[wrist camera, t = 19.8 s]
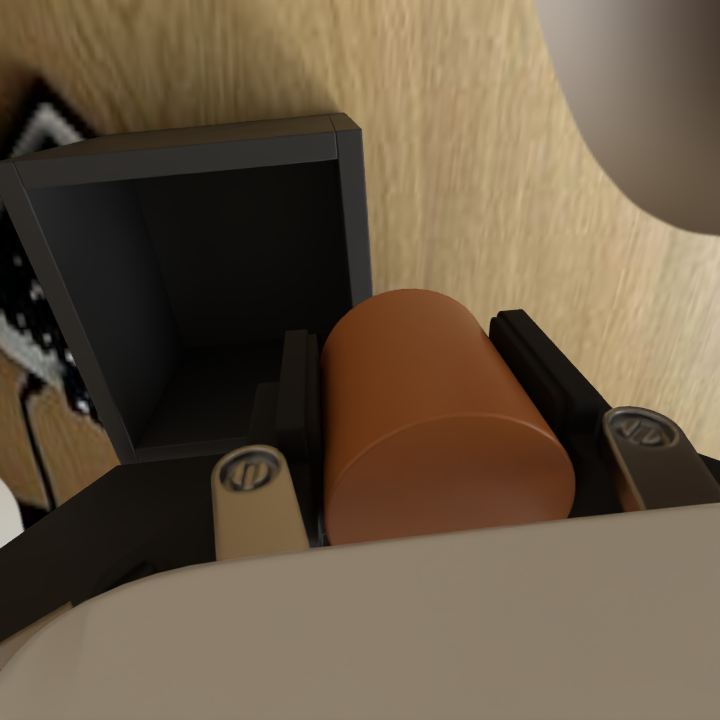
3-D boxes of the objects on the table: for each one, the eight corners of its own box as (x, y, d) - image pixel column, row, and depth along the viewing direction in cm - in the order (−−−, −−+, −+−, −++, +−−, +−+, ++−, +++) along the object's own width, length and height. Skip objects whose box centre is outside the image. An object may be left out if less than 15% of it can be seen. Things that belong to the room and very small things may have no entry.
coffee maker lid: (-276, 741, 9) (-212, 964, 10) (456, 647, 9) (475, 867, 10) (116, 464, 25) (131, 555, 25) (383, 434, 25) (392, 524, 26)
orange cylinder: (378, 455, 14) (407, 621, 10) (285, 350, 12) (270, 501, 8) (512, 380, 13) (610, 527, 9) (436, 252, 11) (515, 362, 7)
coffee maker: (108, 134, 28) (-16, 164, 17) (345, 112, 28) (361, 128, 18) (177, 354, 35) (121, 466, 25) (363, 335, 36) (383, 436, 25)
